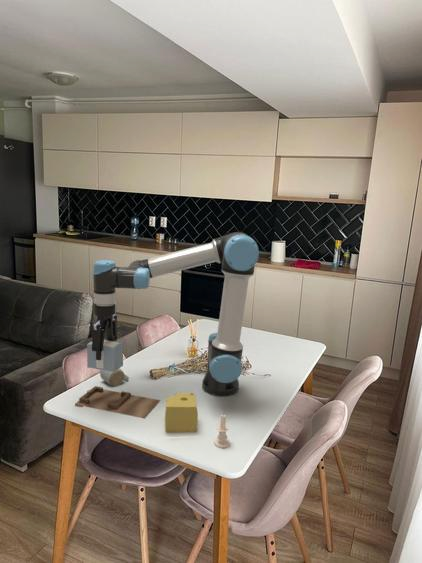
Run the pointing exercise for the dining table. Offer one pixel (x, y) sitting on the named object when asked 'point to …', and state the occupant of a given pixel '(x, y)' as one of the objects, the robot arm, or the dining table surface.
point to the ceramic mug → (113, 377)
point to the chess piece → (222, 434)
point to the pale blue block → (107, 356)
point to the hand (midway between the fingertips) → (105, 363)
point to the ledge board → (117, 402)
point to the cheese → (181, 413)
